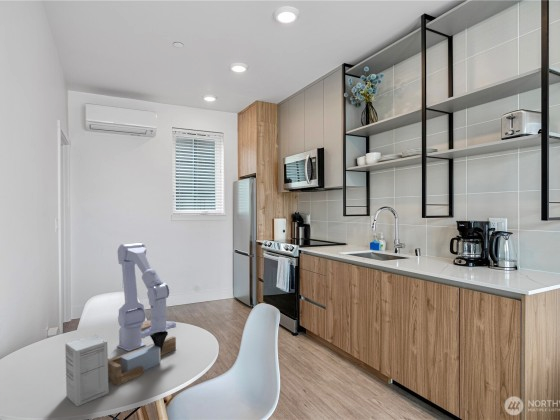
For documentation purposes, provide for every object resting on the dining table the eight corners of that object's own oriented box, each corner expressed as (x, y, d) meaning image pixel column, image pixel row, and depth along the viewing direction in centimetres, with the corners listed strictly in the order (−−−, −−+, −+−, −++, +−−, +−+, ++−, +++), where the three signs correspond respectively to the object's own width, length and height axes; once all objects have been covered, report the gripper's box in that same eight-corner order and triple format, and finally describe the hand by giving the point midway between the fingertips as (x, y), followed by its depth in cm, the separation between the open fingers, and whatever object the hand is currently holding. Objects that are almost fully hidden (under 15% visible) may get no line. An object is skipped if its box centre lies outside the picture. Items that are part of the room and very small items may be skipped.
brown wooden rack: (101, 376, 118) (101, 359, 118) (173, 348, 142) (173, 333, 142) (116, 385, 112) (116, 367, 112) (188, 354, 136) (188, 339, 136)
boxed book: (120, 373, 120) (120, 356, 120) (153, 360, 130) (153, 344, 130) (127, 377, 117) (127, 360, 117) (160, 363, 128) (160, 347, 128)
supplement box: (97, 384, 113) (96, 334, 113) (109, 393, 107) (109, 340, 107) (65, 396, 106) (64, 342, 105) (76, 407, 100) (75, 350, 100)
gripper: (147, 323, 122) (147, 360, 122) (180, 312, 134) (180, 347, 134) (136, 319, 126) (137, 355, 126) (169, 309, 138) (169, 343, 138)
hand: (158, 350), depth 130 cm, fingers closed
